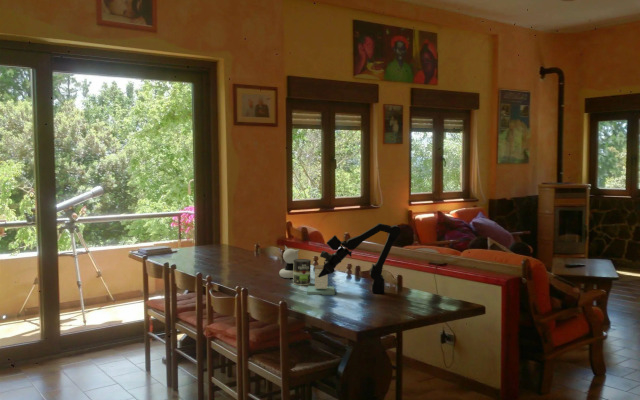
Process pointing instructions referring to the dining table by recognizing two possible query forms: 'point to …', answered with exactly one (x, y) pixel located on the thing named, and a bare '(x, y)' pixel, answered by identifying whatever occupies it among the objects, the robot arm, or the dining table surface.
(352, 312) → the dining table surface
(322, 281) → the beige rectangular block
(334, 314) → the dining table surface
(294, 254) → the decorative figurine
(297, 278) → the coffee can
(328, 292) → the base block
